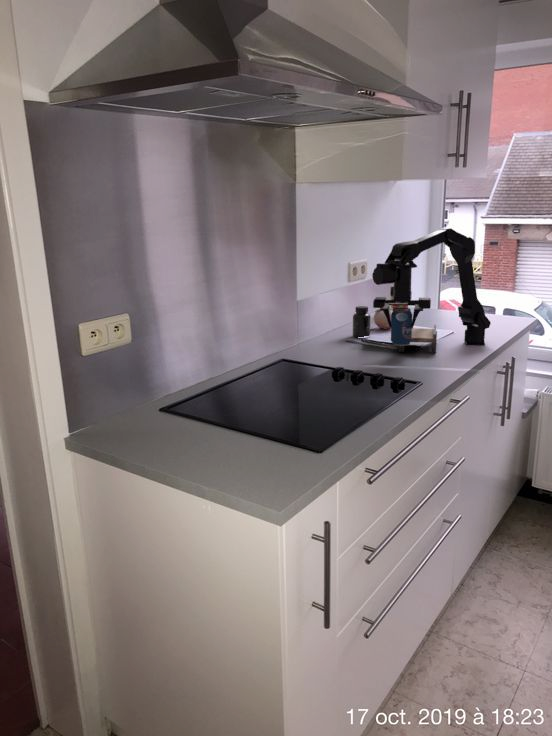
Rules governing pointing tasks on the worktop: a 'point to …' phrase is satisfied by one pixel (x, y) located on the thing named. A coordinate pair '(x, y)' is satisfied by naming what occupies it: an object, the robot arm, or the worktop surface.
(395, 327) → the soda can
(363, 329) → the supplement bottle
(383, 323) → the decorative fruit
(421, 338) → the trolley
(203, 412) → the worktop surface
